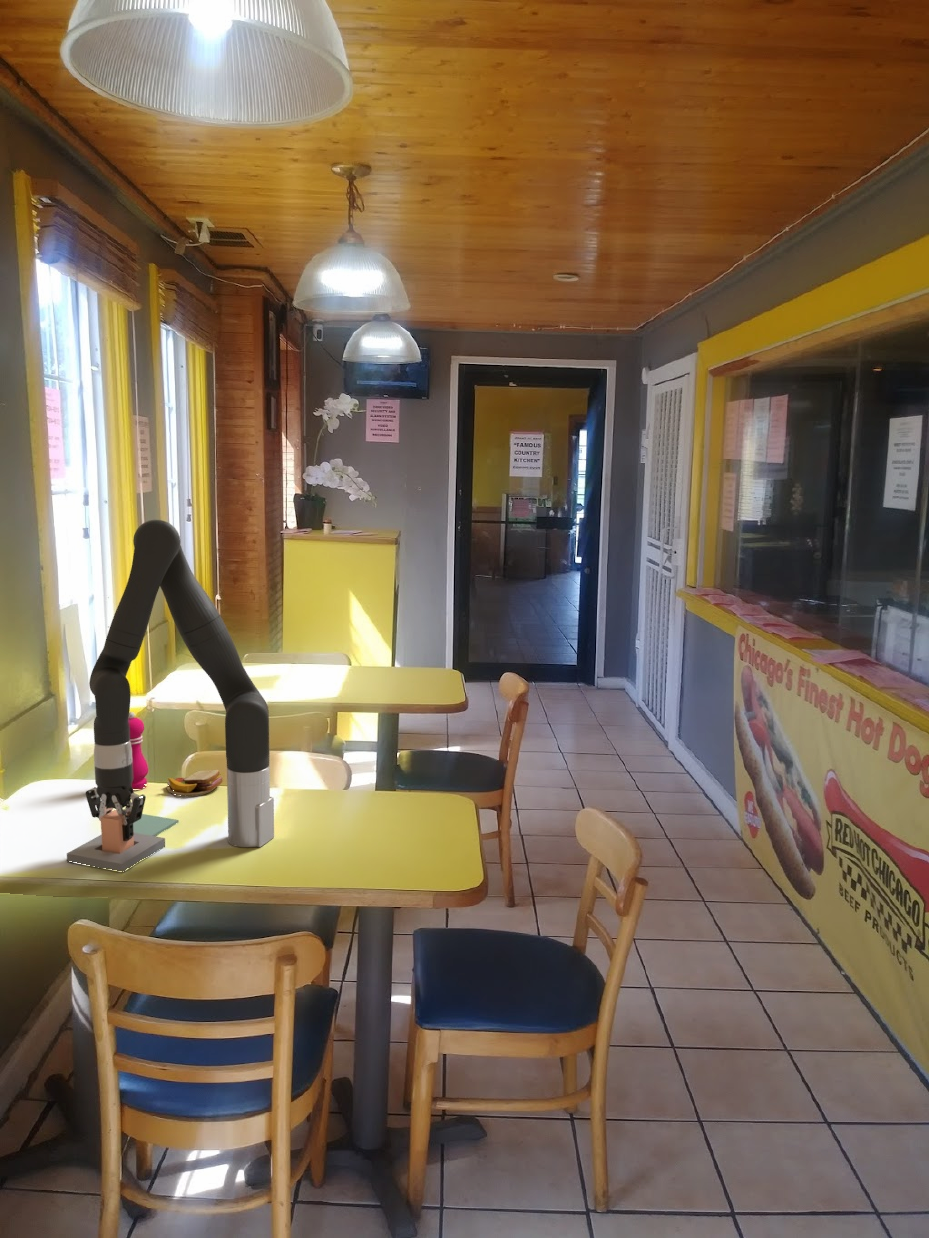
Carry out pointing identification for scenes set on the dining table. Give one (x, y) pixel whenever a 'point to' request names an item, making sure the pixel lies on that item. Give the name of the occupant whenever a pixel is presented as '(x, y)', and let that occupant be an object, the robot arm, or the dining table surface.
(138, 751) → the pepper mill
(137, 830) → the rubber pad
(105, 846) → the terracotta block
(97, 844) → the pocket plate
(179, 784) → the toy sandwich meal
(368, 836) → the dining table surface
